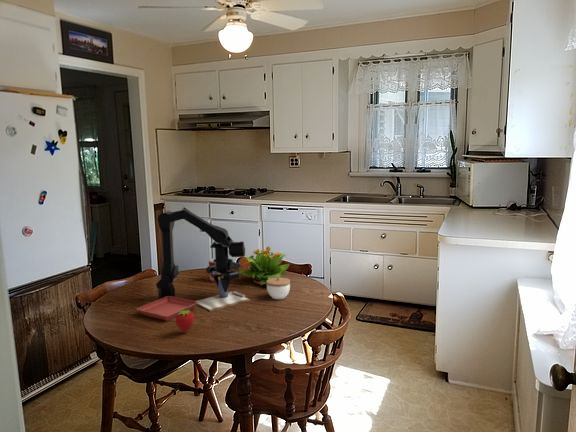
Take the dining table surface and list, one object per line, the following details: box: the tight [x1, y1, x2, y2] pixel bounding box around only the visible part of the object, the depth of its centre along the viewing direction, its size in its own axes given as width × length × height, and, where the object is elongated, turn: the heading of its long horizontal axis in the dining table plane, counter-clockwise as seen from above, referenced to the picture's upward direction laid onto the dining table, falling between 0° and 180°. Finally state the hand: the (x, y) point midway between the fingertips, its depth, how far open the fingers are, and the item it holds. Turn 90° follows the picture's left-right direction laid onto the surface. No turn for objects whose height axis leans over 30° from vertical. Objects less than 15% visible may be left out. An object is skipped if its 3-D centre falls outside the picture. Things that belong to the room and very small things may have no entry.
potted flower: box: [237, 246, 290, 286], centre depth 224 cm, size 25×24×18 cm
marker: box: [218, 276, 229, 298], centre depth 199 cm, size 4×4×9 cm
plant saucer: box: [136, 296, 198, 322], centre depth 184 cm, size 18×18×3 cm
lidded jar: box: [265, 276, 291, 300], centre depth 199 cm, size 11×11×9 cm
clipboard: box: [194, 290, 251, 313], centre depth 196 cm, size 20×15×2 cm
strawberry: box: [175, 307, 195, 334], centre depth 162 cm, size 6×8×10 cm
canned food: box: [208, 257, 216, 284], centre depth 227 cm, size 8×8×11 cm
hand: (223, 290), depth 199 cm, fingers closed on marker, 4 cm apart
